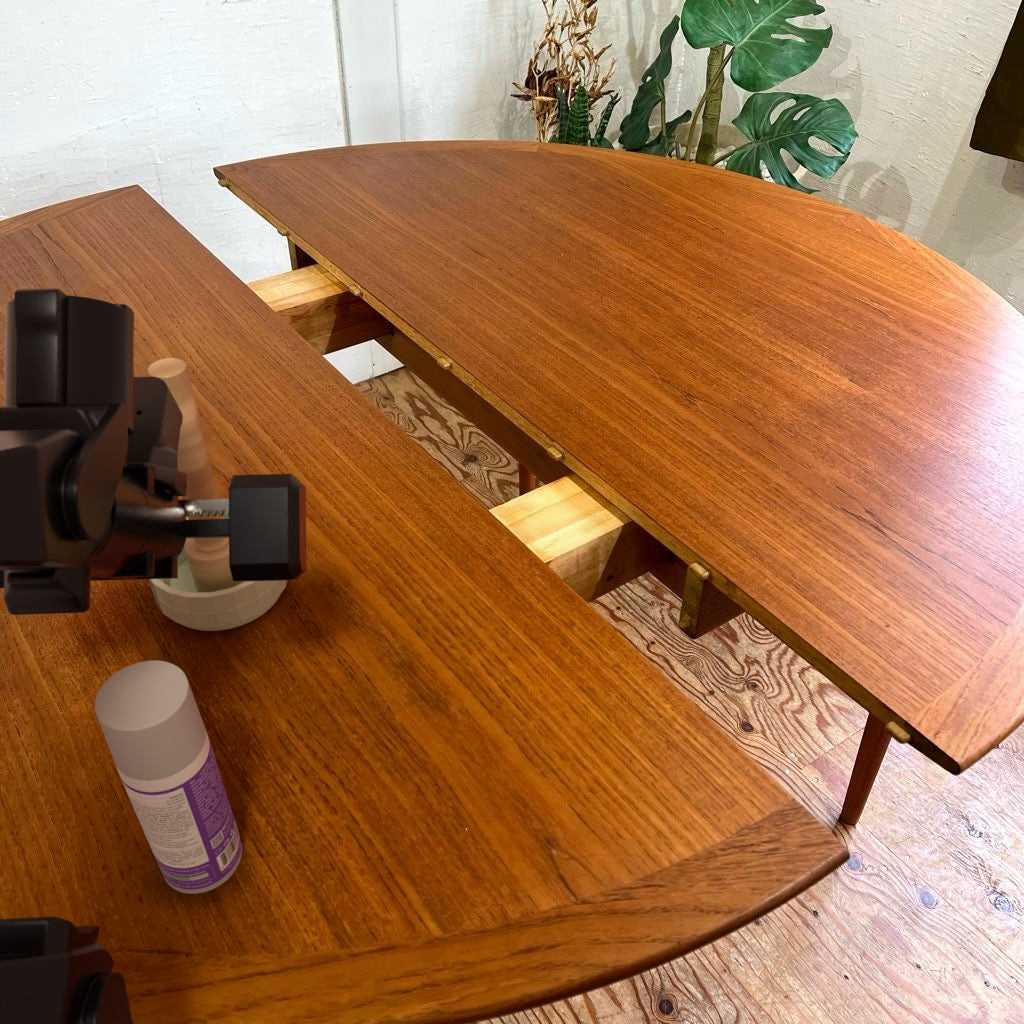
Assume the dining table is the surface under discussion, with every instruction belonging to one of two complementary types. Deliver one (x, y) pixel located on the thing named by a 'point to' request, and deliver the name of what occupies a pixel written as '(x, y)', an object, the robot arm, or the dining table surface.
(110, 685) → the container
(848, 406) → the dining table surface
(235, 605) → the bowl
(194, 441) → the pestle
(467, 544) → the dining table surface
